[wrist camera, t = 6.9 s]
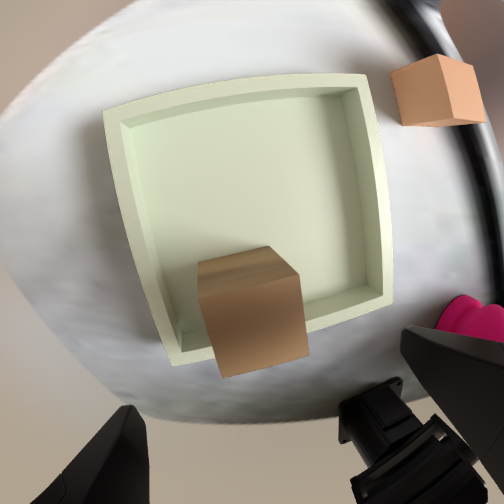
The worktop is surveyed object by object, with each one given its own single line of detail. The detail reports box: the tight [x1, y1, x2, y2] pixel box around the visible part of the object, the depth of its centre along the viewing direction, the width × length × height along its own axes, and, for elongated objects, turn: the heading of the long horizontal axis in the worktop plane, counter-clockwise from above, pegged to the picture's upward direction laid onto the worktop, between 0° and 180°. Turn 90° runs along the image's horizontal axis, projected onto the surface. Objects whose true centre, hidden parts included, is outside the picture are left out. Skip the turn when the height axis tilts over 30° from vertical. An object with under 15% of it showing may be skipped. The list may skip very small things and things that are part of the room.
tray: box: [102, 73, 393, 367], centre depth 15 cm, size 14×14×3 cm
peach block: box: [390, 54, 486, 127], centre depth 14 cm, size 4×4×5 cm
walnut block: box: [198, 246, 309, 378], centre depth 14 cm, size 4×4×5 cm
